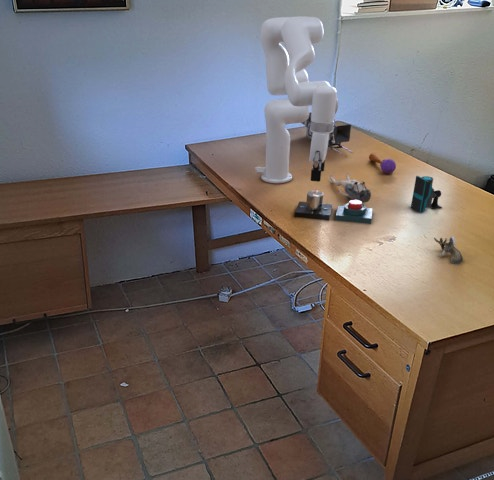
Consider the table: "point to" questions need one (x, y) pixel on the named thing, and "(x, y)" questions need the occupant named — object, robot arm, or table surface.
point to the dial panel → (313, 212)
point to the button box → (354, 214)
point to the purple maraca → (384, 163)
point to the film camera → (333, 133)
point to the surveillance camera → (424, 194)
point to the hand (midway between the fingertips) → (317, 175)
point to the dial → (314, 200)
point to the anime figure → (353, 189)
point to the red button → (355, 204)
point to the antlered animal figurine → (450, 249)
